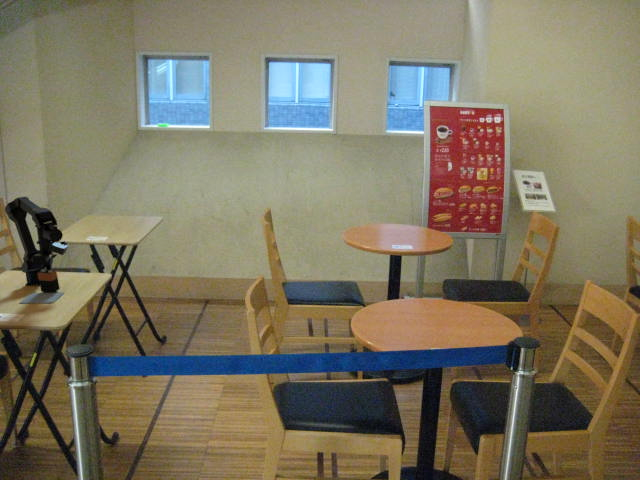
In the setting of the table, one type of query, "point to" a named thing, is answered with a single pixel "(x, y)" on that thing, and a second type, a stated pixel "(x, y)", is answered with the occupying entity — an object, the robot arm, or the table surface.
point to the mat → (41, 298)
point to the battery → (48, 280)
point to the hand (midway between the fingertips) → (49, 271)
